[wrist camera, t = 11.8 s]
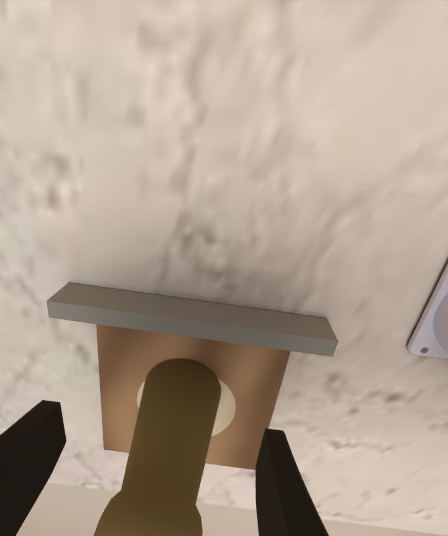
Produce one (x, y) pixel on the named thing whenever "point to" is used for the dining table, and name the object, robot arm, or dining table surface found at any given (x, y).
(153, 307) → the low wall
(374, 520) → the dining table surface
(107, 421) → the walnut board
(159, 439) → the cork
